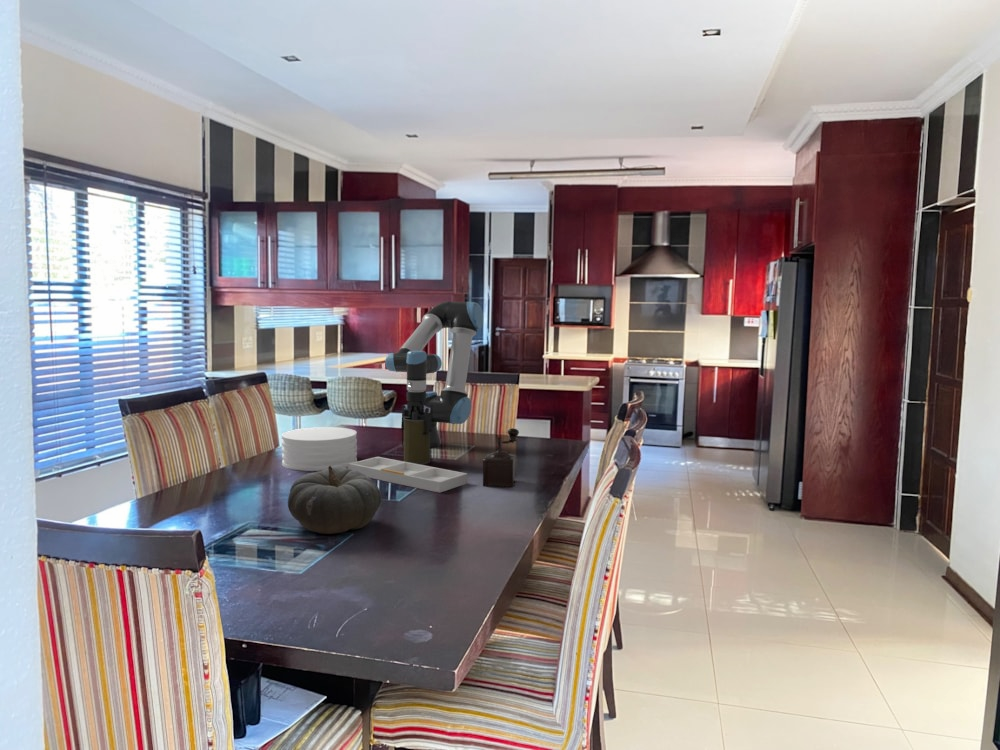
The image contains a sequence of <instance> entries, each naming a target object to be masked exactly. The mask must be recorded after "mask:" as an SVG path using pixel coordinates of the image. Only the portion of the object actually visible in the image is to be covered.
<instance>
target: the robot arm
mask: <svg viewBox="0 0 1000 750" xmlns="http://www.w3.org/2000/svg"><path fill="white" fill-rule="evenodd" d="M483 313H484V312H483V309H482V307H481V305H480V304H479V303H477V302H475V301H445V302H444V301H443V302H441V303H439V304H436V305H435V306H433V307H432V308H430V309H429V310H427V312H426V313H425V314H424V315H423V317H422V318H421V323H419V325H418V326H417V328H416V329H415V330H414V331H413V333H412V334H411V335H410V336H409V338H407V339H406V341H405V342H404V343H403V344H402V345H401V347H400V348H399V349H398V351H397V352H389V353H388V354H386V357H385V360H384V363H385V367H386V369H387V370H388V371H389V372H395V373H406V391H407V392H406V401H407V403H406V404H402V405H401V418H402V417H411V416H412V412H416V415H417V418H418V420H425V432H424V433H423V434H422V435H424V434H425V435H428V434H429V433H430V449H431V448H437V447H440V446H441V444H442V443H441V442H442V441H441V437H440V435H439V434H440V433H439V430H438V427H437V423H438V424H439V423H441V424H452V425H462V424H464V423H465V422H466V421H467V420H468V419H469V417H470V414H471V411H472V401H471V399H470V398H469V397H468V395H469V394H468V393H467V391H466V384H467V383H466V382H467V379H468V378H467V377H468V371H469V363H470V358H471V349H472V342H473V337H475V336H476V335H477V332H478V330H480V329H481V328H483V326H484V314H483ZM447 328H448V329H450V330H449V331H450V332H451V333H452V339H451V345H450V353H449V360H448V368H447V373H446V379H445V386H444V388H443V389H441V391H440V395H438V393H437V391H433V390H432V391H426V390H427V375H428V374H434V373H436V372H439V370H440V369H441V368H442V364H443V363H442V362H443V361H442V359H441V357H440V356H439V355H438V354H436V353H435V354H434V353H428V354H427V352H426V351H425V350H424V348H425V347H426V346H427V344H428V343H429V342H430V341H431V339H432V338H433V337H434V336H435V334H437V333H439V332H440V331H441V330H443V329H447ZM421 414H422V415H421ZM408 419H412V417H411V418H408ZM400 428H401V430H402V423H401V427H400ZM403 431H404V420H403Z"/></svg>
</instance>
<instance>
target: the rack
mask: <svg viewBox="0 0 1000 750" xmlns="http://www.w3.org/2000/svg"><path fill="white" fill-rule="evenodd" d="M347 468H348V469H351V470H352V471H359V472H361V473H363V474H364V475H366V476H367V477H369V478H370V479H374V480H378V481H384V482H387V483H393V484H396V485H402V486H405V487H411V488H416V489H421V490H425V491H430V492H434V493H443V492H446V491H448V490H452V489H455V488H457V487H461V486H464V485H467V484H468V479H469V477H468V473H466V472H460V471H457V470H452V469H445V468H439V467H434V466H429V465H426V464H424V465H420V464H414V463H409V462H404V460H397V459H393V458H392V459H391V458H387V457H383V456H382V457H381V456H375V457H370V458H366V459H362V460H357V462H353V463H349V464H348V467H347Z"/></svg>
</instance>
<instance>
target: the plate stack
mask: <svg viewBox="0 0 1000 750" xmlns="http://www.w3.org/2000/svg"><path fill="white" fill-rule="evenodd" d="M357 433H358V432H357V430H354V429H351V428H348V427H347V428H346V427H337V426H317V427H313V426H311V427H304V428H296V429H292V430H288V431H287V430H286V431H285V432H283V433H281V452H282V453H281V458H282V460H281V465H282V466H283V467H284V468H286V469H289V470H296V471H305V472H306V471H308V472H314V471H316V472H319V471H323V470H325V469H328V467H329V466H331V467H332V468H333V467H335V466H341V467H345V468H348V464H349V463H353V462H357V461H358V458H357V455H358V451H357V449H358V445H357V443H358V440H357V436H358V434H357Z"/></svg>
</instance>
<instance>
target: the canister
mask: <svg viewBox="0 0 1000 750" xmlns="http://www.w3.org/2000/svg"><path fill="white" fill-rule="evenodd" d="M421 415H422V414H421ZM411 417H412V419H408V418H411ZM411 417H402V416H401V424H402V429H401V445H402V446H403V461H404V462H409V463H414V464H420V465H427V464H430V463H431V457H430V456H431V450H430V449H431V448H430V433H429V434H428V435H425V434H424V435H422V434H423V433H424V432H425V420H418V418H417V415H416V412H412V416H411ZM403 420H404V430H403Z"/></svg>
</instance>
